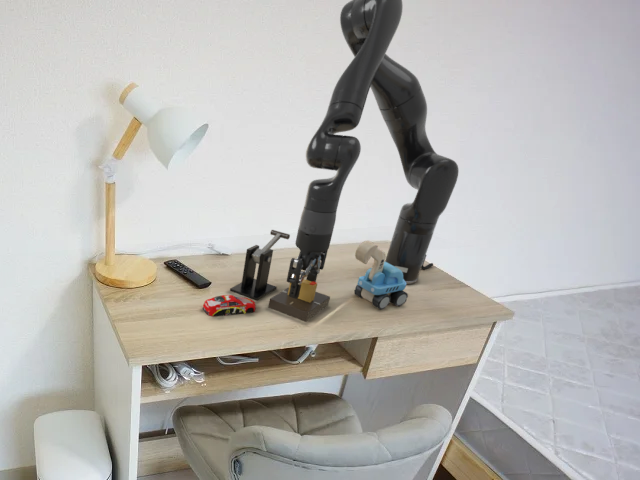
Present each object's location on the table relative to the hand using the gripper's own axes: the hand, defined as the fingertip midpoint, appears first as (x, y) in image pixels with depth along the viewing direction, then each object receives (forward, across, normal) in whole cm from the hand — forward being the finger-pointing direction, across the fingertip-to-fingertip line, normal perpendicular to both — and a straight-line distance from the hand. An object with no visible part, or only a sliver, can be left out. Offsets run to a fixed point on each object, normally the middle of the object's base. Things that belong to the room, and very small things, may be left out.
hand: (301, 292), depth 125 cm
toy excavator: (+5, -16, +11) cm, 20 cm away
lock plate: (+4, 0, 0) cm, 4 cm away
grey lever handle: (-6, -5, -13) cm, 15 cm away
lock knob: (+1, 0, 0) cm, 1 cm away
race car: (+5, +14, -11) cm, 18 cm away
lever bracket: (+4, 0, -13) cm, 14 cm away
